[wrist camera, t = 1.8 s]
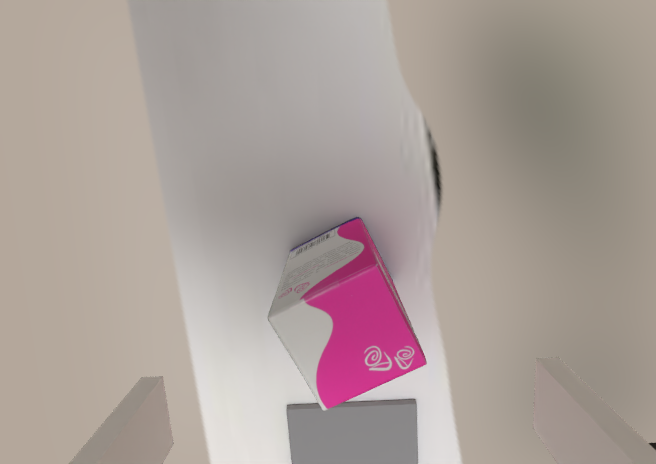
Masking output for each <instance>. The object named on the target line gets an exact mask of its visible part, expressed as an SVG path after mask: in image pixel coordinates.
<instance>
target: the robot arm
mask: <svg viewBox="0 0 656 464" xmlns="http://www.w3.org/2000/svg"><path fill="white" fill-rule="evenodd" d="M534 396H535V397H534V420H533V421H534V422H533V429H534V430H535V432H536V433H537V435H538V436H539V438H540V439H541V440H542V442H543V443H544V445H545V446H546V448H547V449H548V451H549V452H550V453H551V455H552V456H553V458H554V459H555V461H556V462H557V464H656V443H647V441H645V440H644V439H643V438H642V437H641V436H640V435H639V434H638V433H637V432H636V431H635V430H634V429H633V428H632V427H631V426H630V425H629V424H628V423H627V422H626V421H624V419H623V418H621V417H620V416H619V415H618V414H617V413H616V412H615V411H614V410H613V409H612V408H611V407H610V406H609V405H608V404H607V403H606V402H605V401H604V400H603V399H602V398H601V397H600V396H598V395H597V394H596V393H595V392H594V391H593V390H592V389H591V388H590V387H589V386H588V385H587V384H586V383H585V382H584V381H582V379H581V378H579V376H578V375H577V374H576V373H574V372H573V371H572V370H571V369H570V368H569V367H568V366H567V365H566V364H565V363H564V362H563V361H562V360H561V359H560V358H559V357H551V358H536V370H535V393H534ZM173 444H174V443H173V437H172V430H171V424H170V418H169V412H168V406H167V400H166V394H165V387H164V381H163V377H162V376H159V377H142V378H141V379H140V380H139V381H138V382H137V383H136V385H135V386H134V387H133V388H132V390H131V391H130V392H129V393H128V394H127V395H126V396H125V398H124V399H123V400H122V401H121V402H120V404H119V405H118V406H117V407H116V408H115V410H114V411H113V412H112V413H111V414H110V416H109V417H108V418H107V419H106V420H105V421H104V423H103V424H102V425H101V426H100V427H99V428H98V430H97V431H96V432H95V433H94V435H93V436H92V437H91V438H90V439H89V440H88V442H87V443H86V444H85V445H84V446H83V448H82V449H81V450H80V451H79V452H78V453H77V455H76V456H75V457H74V458H73V459H72V460H71V462H70V463H69V464H163V462H164V460H165V459H166V457H167V455H168V453H169V451H170V449H171V448H172V446H173Z"/></svg>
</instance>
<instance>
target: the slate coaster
mask: <svg viewBox="0 0 656 464" xmlns="http://www.w3.org/2000/svg"><path fill="white" fill-rule="evenodd" d="M287 419H288V429H289V439H290V449H291V460H292V464H418V443H417V404H416V401H415V399H410V400H388V401H366V402H344V403H340V404H338V405H336V406H334V407H331V408H329V409H327V410H324V411H323V410H322V408H321V406H320V404H299V405H287Z"/></svg>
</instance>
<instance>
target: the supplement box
mask: <svg viewBox="0 0 656 464" xmlns="http://www.w3.org/2000/svg"><path fill="white" fill-rule="evenodd" d="M268 321H269V322H270V324H271V325H272V327H273V329H274V330H275V332H276V333H277V335H278V337H279V338H280V340H281V342H282V343H283V345H284V347H285V348H286V350H287V351H288V353H289V355H290V356H291V358H292V360H293V361H294V363H295V365H296V366H297V368H298V369H299V371H300V373H301V374H302V376H303V377H304V379H305V381H306V382H307V384H308V386H309V388H310V389H311V391H312V393H313V394H314V396H315V398H316V400H317V401H318V403H319V404H320V406H321V408H322V410H323V411H324V410H327V409H329V408H331V407H334V406H336V405H338V404H340V403H342V402H345V401H347V400H349V399H351V398H353V397H356V396H358V395H360V394H362V393H364V392H367V391H369V390H371V389H373V388H375V387H377V386H380V385H382V384H384V383H386V382H389V381H391V380H393V379H395V378H397V377H399V376H402V375H404V374H406V373H408V372H410V371H413V370H415V369H417V368H419V367H421V366H424V365H426V364H427V363H426V359H425V356H424V353H423V351H422V348H421V346H420V344H419V341H418V339H417V337H416V335H415V333H414V330H413V327H412V325H411V323H410V320H409V318H408V316H407V314H406V311H405V309H404V307H403V304H402V302H401V300H400V297H399V295H398V293H397V290H396V288H395V286H394V283H393V281H392V279H391V277H390V275H389V273H388V271H387V269H386V267H385V265H384V263H383V261H382V259H381V257H380V255H379V253H378V251H377V249H376V247H375V245H374V243H373V241H372V239H371V237H370V235H369V233H368V231H367V229H366V227H365V225H364V223H363V222H362V220H361V218H359V217H357V218H354V219H352V220H350V221H347V222H345V223H343V224H341V225H339V226H337V227H335V228H333V229H331V230H329V231H327V232H325V233H323V234H321V235H319V236H317V237H315V238H313V239H311V240H309V241H307V242H305V243H304V244H302V245H300V246H298V247H296V248H294V249H292V250H290V254H289V257H288V260H287V262H286V265H285V268H284V271H283V274H282V277H281V280H280V283H279V286H278V289H277V292H276V295H275V298H274V300H273V303H272V306H271V309H270V312H269V315H268Z"/></svg>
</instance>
